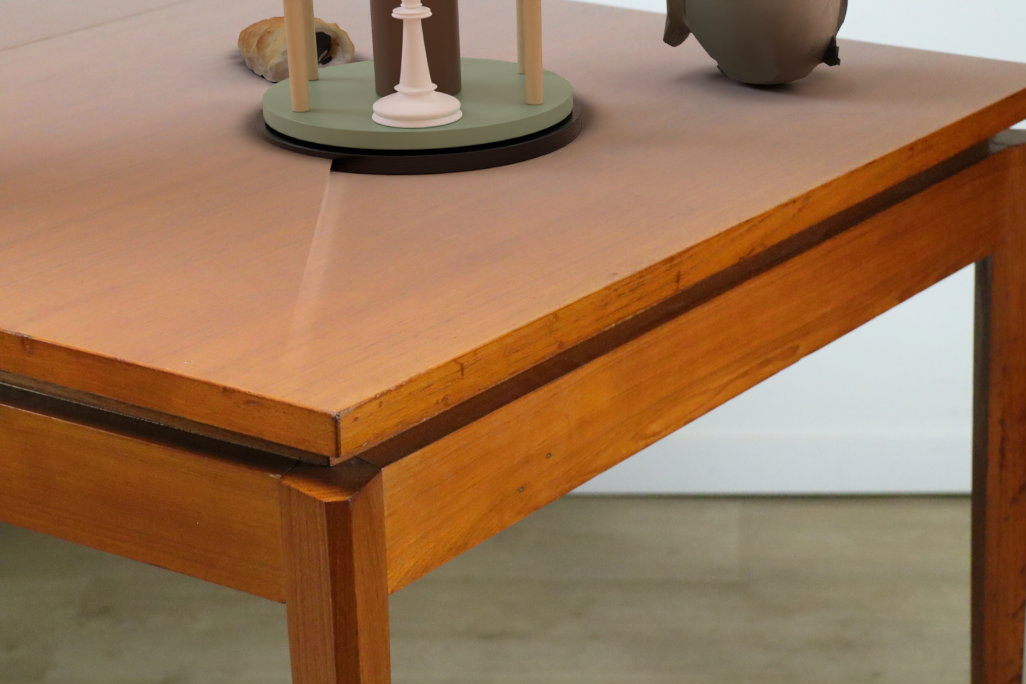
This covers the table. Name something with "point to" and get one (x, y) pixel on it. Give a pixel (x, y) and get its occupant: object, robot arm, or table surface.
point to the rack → (357, 86)
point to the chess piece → (415, 81)
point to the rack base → (432, 150)
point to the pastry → (269, 47)
